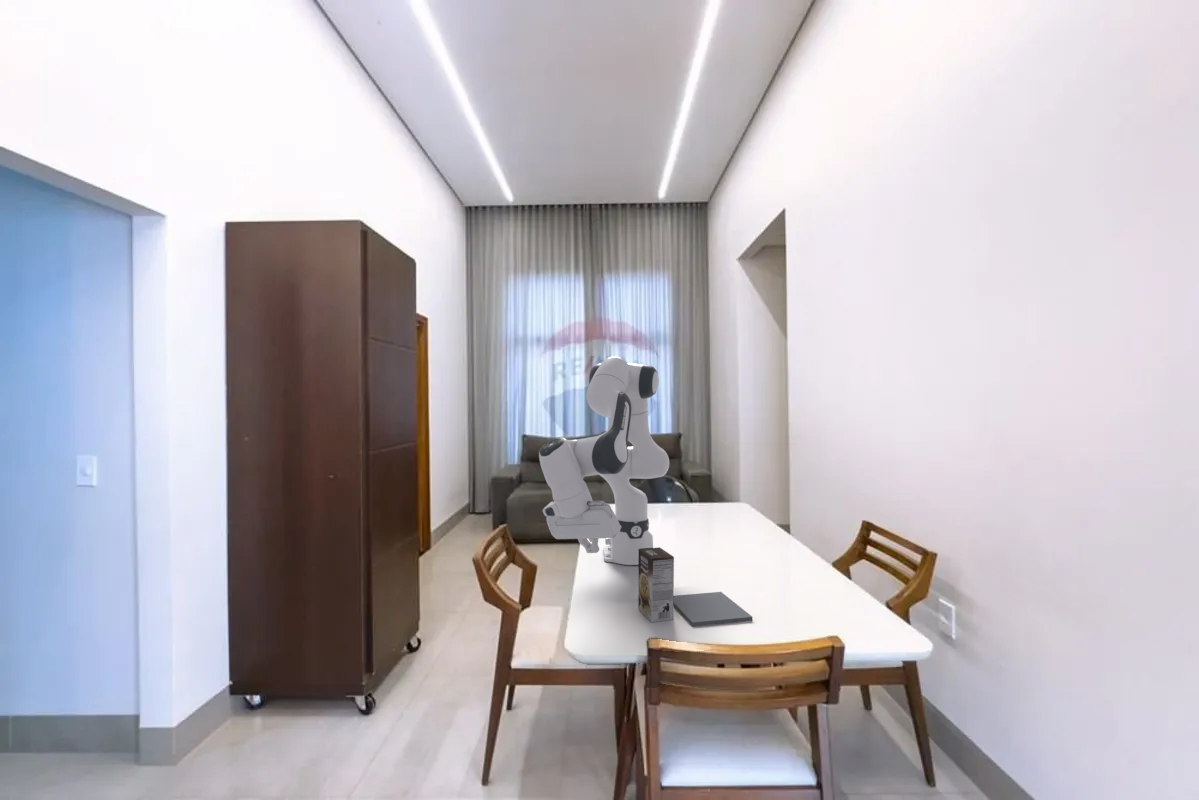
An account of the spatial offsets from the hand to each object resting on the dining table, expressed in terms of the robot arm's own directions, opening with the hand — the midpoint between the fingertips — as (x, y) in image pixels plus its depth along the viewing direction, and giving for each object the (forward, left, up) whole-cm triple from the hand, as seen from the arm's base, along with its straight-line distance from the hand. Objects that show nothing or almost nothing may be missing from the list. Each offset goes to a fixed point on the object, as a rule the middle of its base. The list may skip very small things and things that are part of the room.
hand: (593, 551), depth 136 cm
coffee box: (0, +16, -17) cm, 24 cm away
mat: (0, +31, -17) cm, 35 cm away
